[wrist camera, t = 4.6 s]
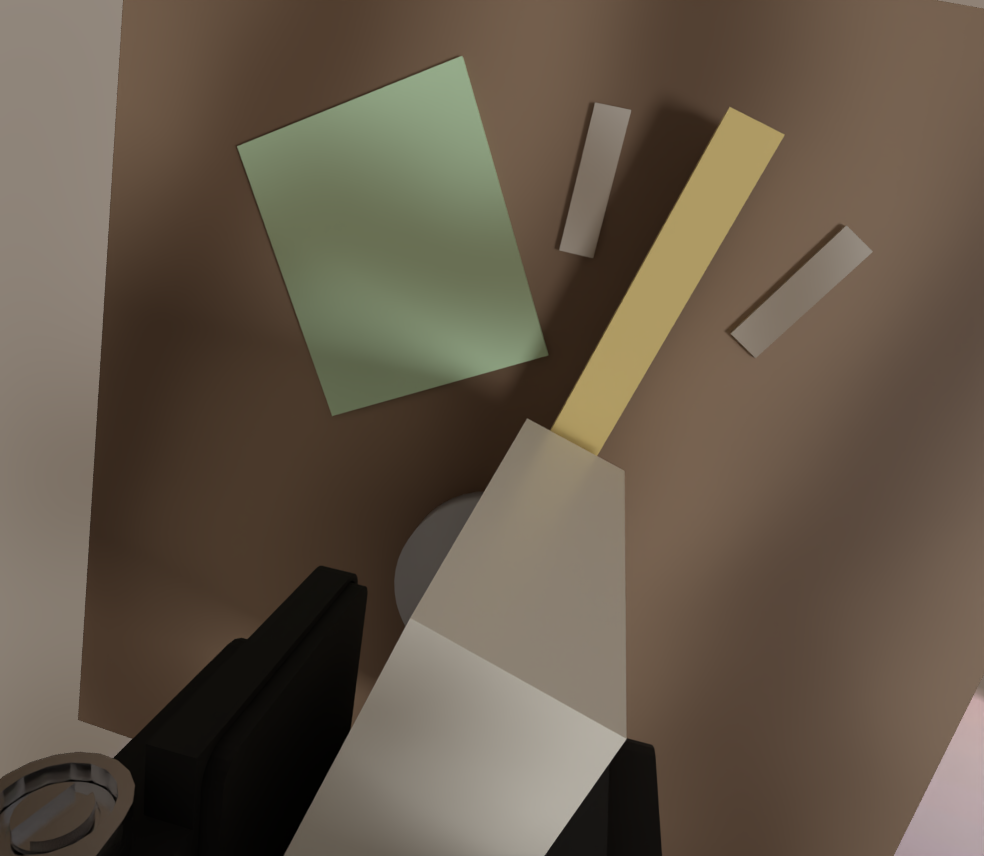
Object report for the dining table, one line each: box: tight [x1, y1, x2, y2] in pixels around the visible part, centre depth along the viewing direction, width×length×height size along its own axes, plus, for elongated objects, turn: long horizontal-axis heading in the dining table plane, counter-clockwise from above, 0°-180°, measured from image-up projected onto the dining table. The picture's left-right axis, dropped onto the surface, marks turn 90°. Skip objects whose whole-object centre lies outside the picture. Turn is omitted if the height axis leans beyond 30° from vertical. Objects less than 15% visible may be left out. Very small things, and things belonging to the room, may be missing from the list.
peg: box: [284, 107, 784, 856], centre depth 9 cm, size 4×12×8 cm, turn 154°
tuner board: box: [78, 0, 984, 856], centre depth 14 cm, size 18×18×1 cm
